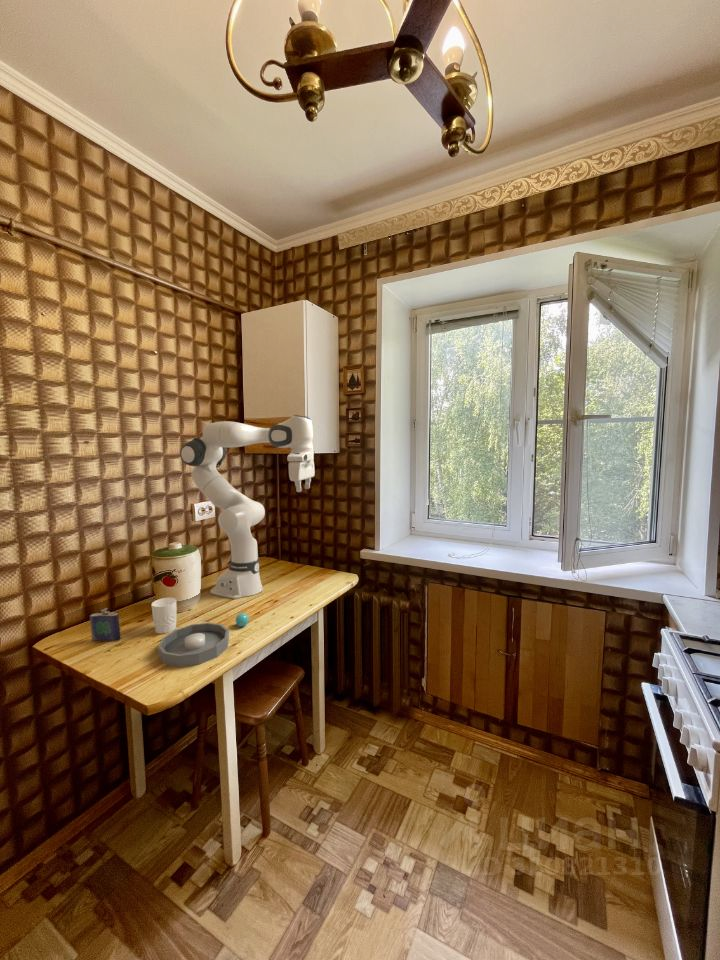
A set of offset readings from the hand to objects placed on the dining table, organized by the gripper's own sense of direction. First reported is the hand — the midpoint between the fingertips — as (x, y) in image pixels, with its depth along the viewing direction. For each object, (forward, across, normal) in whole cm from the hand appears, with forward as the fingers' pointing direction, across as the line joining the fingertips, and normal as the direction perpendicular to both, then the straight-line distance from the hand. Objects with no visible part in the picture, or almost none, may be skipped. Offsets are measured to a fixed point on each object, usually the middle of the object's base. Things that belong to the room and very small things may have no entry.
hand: (303, 490), depth 154 cm
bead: (+44, +26, -15) cm, 53 cm away
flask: (+46, +43, -55) cm, 84 cm away
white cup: (+46, +33, -40) cm, 70 cm away
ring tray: (+46, +42, -22) cm, 66 cm away
